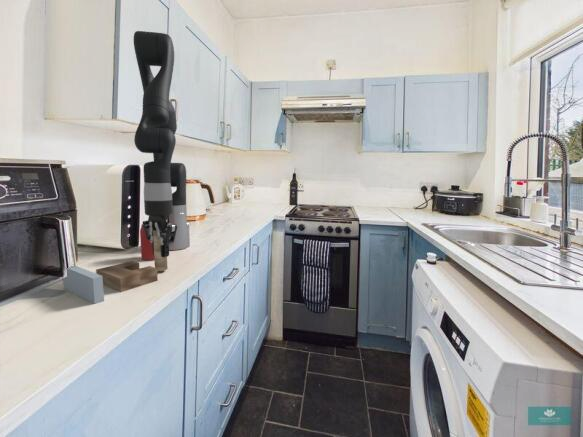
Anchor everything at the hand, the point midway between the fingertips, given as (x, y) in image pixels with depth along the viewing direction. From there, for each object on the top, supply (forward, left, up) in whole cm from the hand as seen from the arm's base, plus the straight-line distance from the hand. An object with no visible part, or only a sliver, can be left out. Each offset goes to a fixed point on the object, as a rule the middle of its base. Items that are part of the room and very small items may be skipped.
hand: (160, 255), depth 90 cm
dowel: (0, 0, -4) cm, 4 cm away
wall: (+21, 0, -5) cm, 22 cm away
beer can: (-7, -15, -5) cm, 17 cm away
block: (+10, 0, -5) cm, 11 cm away
